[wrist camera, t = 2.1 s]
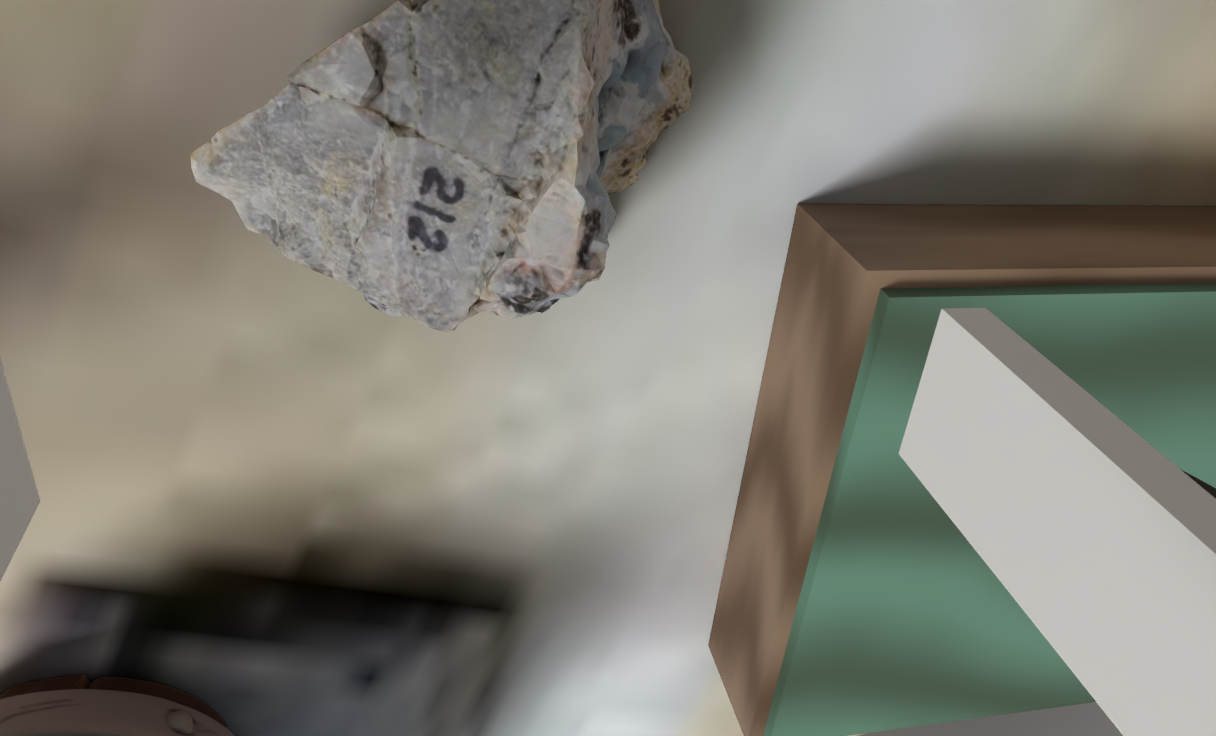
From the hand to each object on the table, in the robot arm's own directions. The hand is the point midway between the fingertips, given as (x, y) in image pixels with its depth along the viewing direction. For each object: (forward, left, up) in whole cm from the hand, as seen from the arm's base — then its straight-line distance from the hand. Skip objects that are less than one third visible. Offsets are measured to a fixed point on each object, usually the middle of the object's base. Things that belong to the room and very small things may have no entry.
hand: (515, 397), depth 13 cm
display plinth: (+11, +19, -12) cm, 25 cm away
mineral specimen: (-1, 0, -13) cm, 13 cm away
